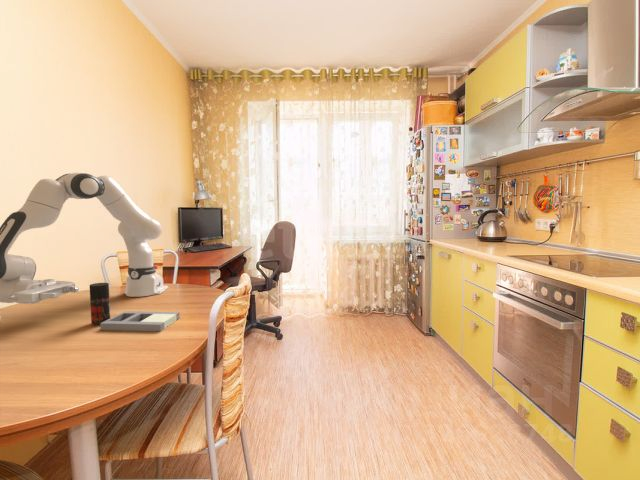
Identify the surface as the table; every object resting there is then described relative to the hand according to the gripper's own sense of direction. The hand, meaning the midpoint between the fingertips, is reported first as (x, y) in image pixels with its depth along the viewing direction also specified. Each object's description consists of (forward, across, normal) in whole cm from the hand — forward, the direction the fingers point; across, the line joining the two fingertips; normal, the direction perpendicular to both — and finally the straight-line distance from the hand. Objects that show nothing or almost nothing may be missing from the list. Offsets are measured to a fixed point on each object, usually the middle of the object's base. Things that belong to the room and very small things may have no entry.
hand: (67, 292), depth 119 cm
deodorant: (+12, +1, +12) cm, 17 cm away
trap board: (+28, +1, +12) cm, 31 cm away
